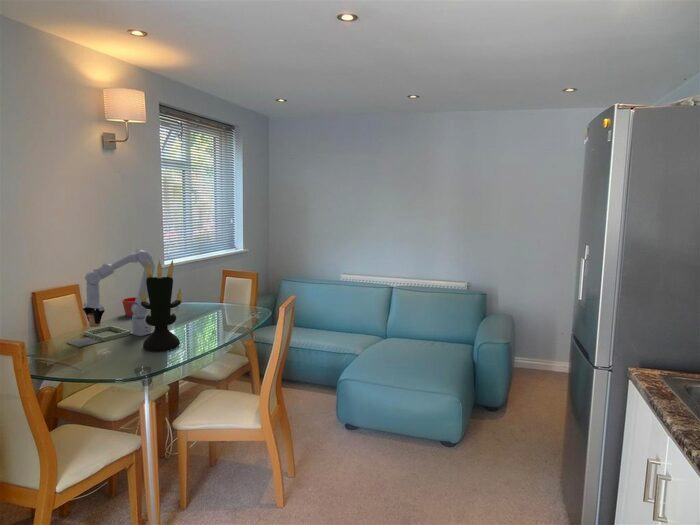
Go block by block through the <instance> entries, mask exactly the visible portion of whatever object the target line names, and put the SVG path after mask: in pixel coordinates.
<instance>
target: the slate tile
mask: <svg viewBox="0 0 700 525" xmlns="http://www.w3.org/2000/svg"><path fill="white" fill-rule="evenodd" d="M98 342H100V343H102V341H100V340H97V339H94V338H91V337H87V336H86V337H83V338H79V339H74V340H70V341H67V342H66V344H67V343H68V344H67V345H70V344H71V345H70V346H73V347H76V348H79V349H80V348H84V347H87V345H88V346H91V344H92V345H95V343H96V344H99V343H98ZM83 346H84V347H83Z"/></svg>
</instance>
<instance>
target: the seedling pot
mask: <svg viewBox="0 0 700 525" xmlns="http://www.w3.org/2000/svg"><path fill="white" fill-rule="evenodd" d="M88 317H89V322H88V326H89V328H97V327H98V328H99V327H100V326H101V322H100V323H99V324H95V319H94V315H93V313H89V314H88Z"/></svg>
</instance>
